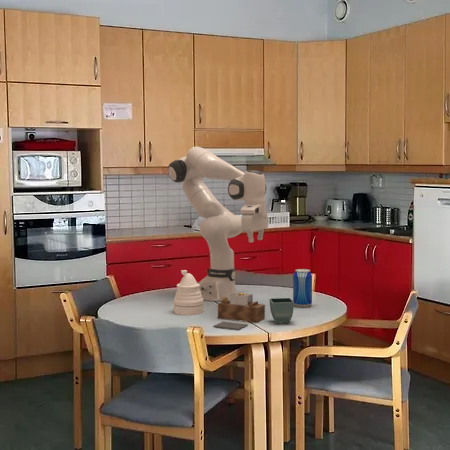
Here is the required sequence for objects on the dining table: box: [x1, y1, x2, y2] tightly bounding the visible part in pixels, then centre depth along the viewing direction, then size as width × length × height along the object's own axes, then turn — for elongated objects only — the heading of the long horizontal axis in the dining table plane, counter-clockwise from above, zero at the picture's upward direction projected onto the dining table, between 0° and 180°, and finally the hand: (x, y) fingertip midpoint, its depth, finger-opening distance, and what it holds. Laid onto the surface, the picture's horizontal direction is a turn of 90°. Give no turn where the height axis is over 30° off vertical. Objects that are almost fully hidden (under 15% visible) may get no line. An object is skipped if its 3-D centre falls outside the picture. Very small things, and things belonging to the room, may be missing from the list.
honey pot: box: [173, 269, 205, 316], centre depth 294 cm, size 13×13×18 cm
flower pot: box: [268, 297, 295, 324], centre depth 275 cm, size 9×9×9 cm
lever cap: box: [230, 292, 254, 306], centre depth 281 cm, size 8×5×5 cm, turn 63°
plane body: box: [217, 297, 266, 323], centre depth 281 cm, size 18×7×8 cm, turn 63°
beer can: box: [292, 268, 313, 308], centre depth 305 cm, size 8×8×16 cm
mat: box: [213, 321, 249, 331], centre depth 268 cm, size 11×8×1 cm
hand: (255, 241), depth 291 cm, fingers open, 8 cm apart
